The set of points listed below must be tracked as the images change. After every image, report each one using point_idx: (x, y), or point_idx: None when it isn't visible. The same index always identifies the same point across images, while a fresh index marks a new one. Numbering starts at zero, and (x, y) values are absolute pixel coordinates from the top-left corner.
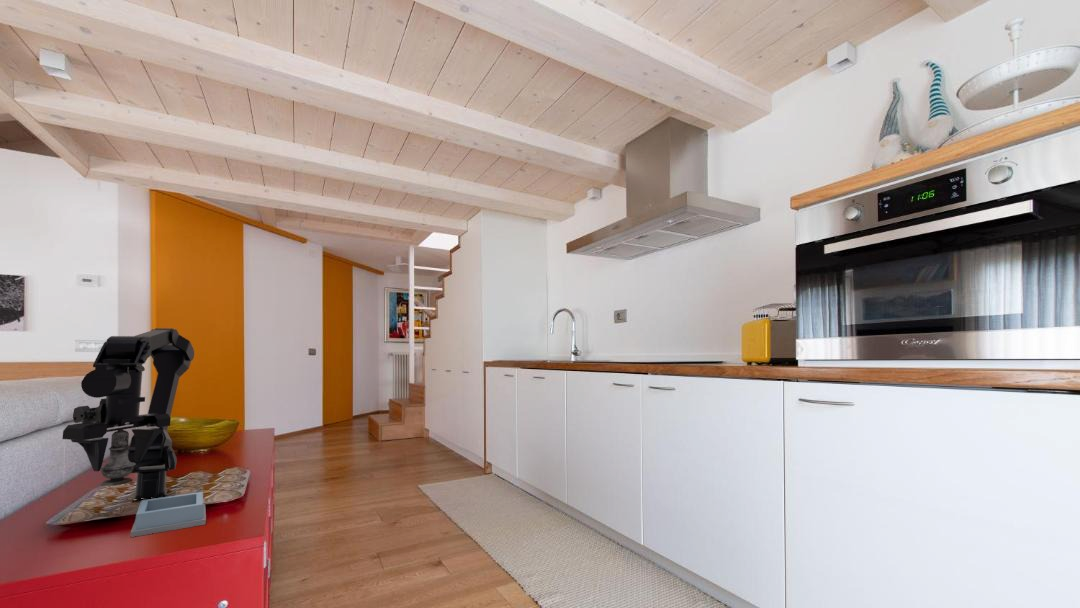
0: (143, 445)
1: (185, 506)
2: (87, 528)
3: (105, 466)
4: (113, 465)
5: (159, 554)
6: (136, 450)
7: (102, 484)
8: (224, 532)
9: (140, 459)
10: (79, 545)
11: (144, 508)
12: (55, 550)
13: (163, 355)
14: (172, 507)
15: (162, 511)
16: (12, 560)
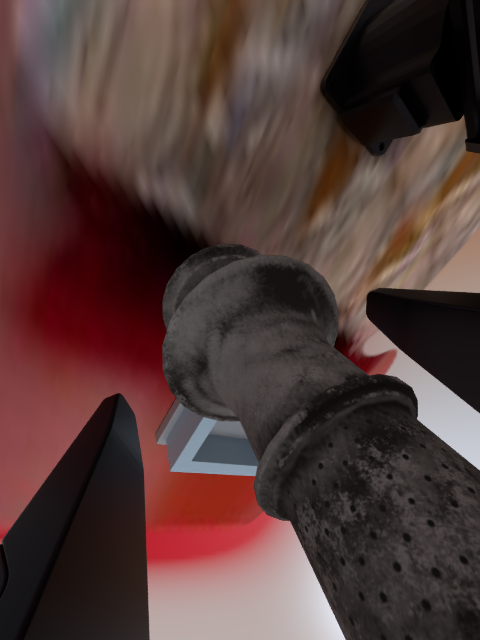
0: (477, 390)
1: (252, 471)
2: (115, 289)
3: (190, 368)
4: (219, 405)
5: (150, 526)
6: (439, 322)
7: (167, 312)
8: (246, 492)
9: (379, 325)
10: (64, 415)
11: (204, 437)
12: (9, 413)
13: None
14: (236, 465)
15: (214, 471)
16: None
